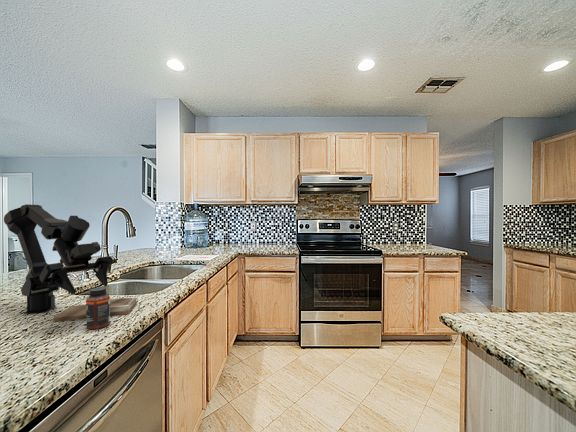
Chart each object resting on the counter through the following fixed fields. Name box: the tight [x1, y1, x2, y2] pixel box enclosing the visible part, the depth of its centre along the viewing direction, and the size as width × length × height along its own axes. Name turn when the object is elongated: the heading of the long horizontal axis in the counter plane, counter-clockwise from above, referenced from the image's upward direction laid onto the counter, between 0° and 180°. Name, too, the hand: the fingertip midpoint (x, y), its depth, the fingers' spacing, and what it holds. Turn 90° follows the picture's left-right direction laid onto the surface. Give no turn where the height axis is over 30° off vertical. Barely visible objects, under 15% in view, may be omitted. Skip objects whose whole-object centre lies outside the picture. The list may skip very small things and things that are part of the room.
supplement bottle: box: [85, 286, 111, 330], centre depth 83 cm, size 6×6×11 cm
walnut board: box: [52, 296, 138, 323], centre depth 96 cm, size 21×12×3 cm, turn 106°
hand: (91, 289), depth 85 cm, fingers open, 9 cm apart
